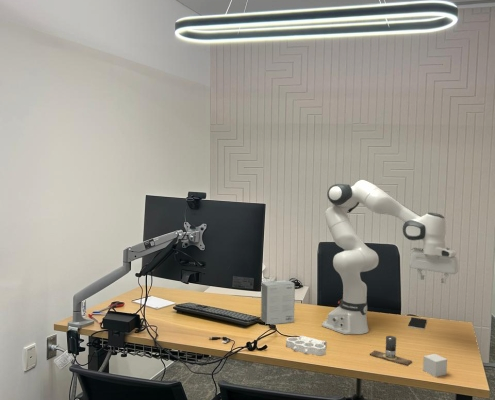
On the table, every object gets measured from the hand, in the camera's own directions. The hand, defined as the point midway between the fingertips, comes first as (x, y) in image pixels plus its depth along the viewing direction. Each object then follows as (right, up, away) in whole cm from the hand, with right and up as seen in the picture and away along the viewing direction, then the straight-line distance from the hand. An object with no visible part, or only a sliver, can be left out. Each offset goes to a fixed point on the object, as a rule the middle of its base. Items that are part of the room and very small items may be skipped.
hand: (432, 281), depth 209 cm
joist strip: (-23, -30, -14) cm, 40 cm away
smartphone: (+5, -28, +32) cm, 43 cm away
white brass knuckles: (-56, -29, -4) cm, 63 cm away
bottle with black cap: (-23, -29, -14) cm, 39 cm away
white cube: (-9, -31, -26) cm, 42 cm away
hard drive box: (-66, -26, +30) cm, 78 cm away
